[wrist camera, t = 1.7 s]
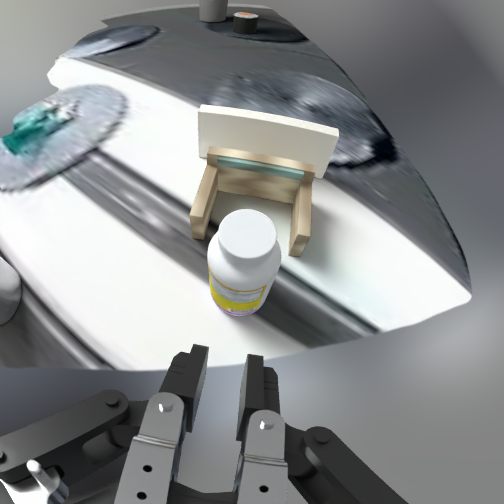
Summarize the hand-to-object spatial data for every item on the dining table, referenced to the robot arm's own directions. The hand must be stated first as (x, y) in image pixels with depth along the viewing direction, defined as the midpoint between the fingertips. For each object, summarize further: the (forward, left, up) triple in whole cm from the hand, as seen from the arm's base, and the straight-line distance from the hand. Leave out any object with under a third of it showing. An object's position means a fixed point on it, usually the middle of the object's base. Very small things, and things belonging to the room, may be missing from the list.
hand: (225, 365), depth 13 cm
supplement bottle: (0, +11, -18) cm, 21 cm away
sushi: (-15, +107, -18) cm, 110 cm away
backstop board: (0, +33, -18) cm, 37 cm away
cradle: (0, +22, -18) cm, 28 cm away
